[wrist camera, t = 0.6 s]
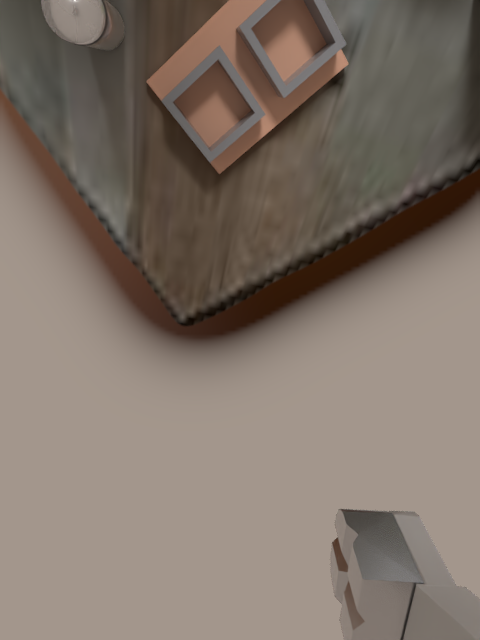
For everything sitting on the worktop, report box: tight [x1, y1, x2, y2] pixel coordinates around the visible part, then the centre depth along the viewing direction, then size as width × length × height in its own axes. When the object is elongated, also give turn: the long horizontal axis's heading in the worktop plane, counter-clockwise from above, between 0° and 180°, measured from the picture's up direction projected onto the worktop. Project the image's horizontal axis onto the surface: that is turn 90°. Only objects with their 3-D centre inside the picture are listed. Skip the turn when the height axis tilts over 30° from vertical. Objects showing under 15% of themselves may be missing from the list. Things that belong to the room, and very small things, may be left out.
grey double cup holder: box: [146, 0, 348, 174], centre depth 42 cm, size 12×18×4 cm, turn 128°
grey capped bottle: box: [41, 0, 124, 50], centre depth 35 cm, size 4×4×14 cm
